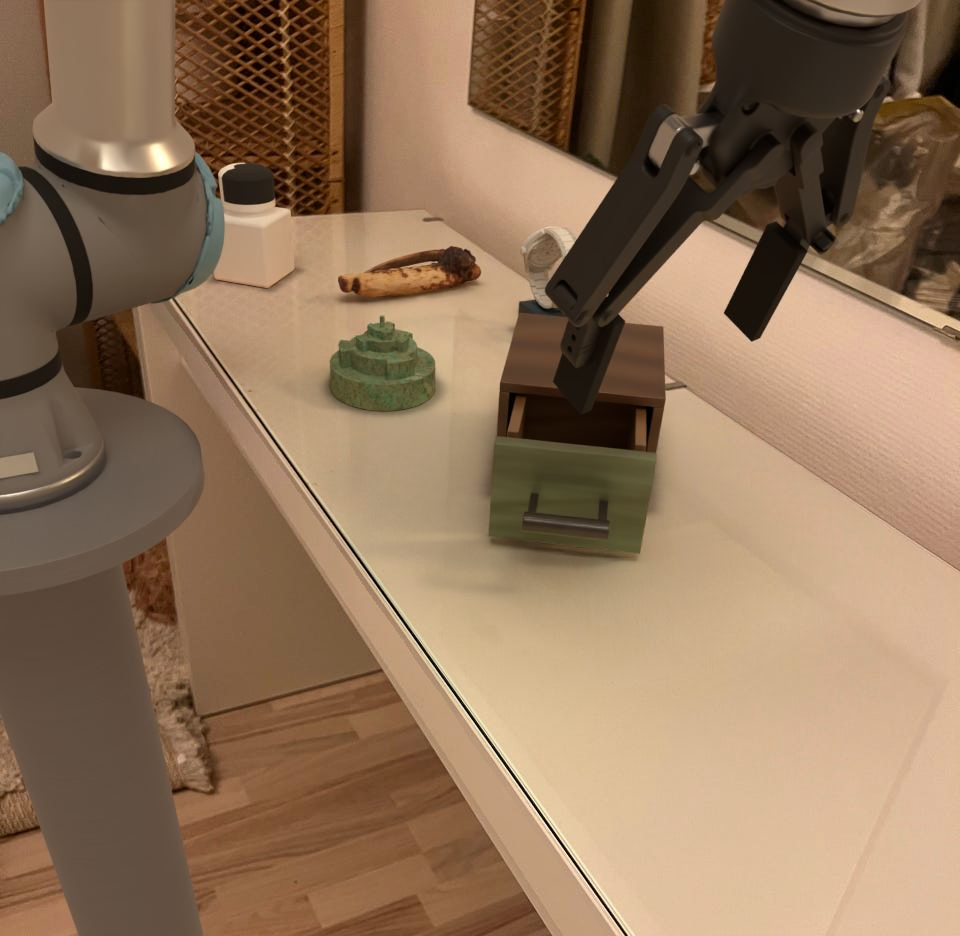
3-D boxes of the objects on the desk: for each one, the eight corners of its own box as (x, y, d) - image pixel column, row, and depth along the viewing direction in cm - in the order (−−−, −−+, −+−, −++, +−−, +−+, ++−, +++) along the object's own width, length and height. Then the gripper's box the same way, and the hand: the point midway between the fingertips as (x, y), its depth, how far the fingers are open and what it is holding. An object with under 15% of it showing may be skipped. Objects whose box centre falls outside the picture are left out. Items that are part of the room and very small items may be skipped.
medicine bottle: (295, 270, 120) (288, 163, 112) (268, 289, 114) (259, 178, 107) (242, 261, 121) (231, 155, 114) (213, 280, 116) (199, 169, 108)
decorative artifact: (353, 418, 90) (452, 400, 94) (351, 344, 86) (454, 328, 90) (316, 375, 97) (409, 360, 101) (311, 304, 93) (409, 291, 96)
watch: (552, 317, 112) (562, 215, 105) (588, 344, 106) (601, 238, 99) (508, 323, 110) (515, 219, 103) (542, 351, 104) (552, 243, 97)
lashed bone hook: (453, 270, 124) (318, 285, 116) (455, 230, 121) (316, 243, 113) (490, 292, 117) (349, 309, 110) (492, 251, 114) (348, 266, 107)
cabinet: (646, 508, 80) (665, 398, 74) (492, 491, 81) (499, 381, 75) (646, 427, 92) (663, 326, 86) (511, 413, 93) (519, 312, 87)
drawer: (639, 586, 70) (657, 491, 65) (480, 568, 71) (486, 472, 66) (641, 466, 84) (655, 379, 79) (507, 452, 85) (514, 365, 80)
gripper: (662, 91, 34) (530, 478, 52) (1073, -18, 44) (843, 338, 62) (537, -27, 37) (452, 382, 55) (953, -105, 47) (765, 262, 65)
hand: (660, 359), depth 59 cm, fingers open, 13 cm apart
